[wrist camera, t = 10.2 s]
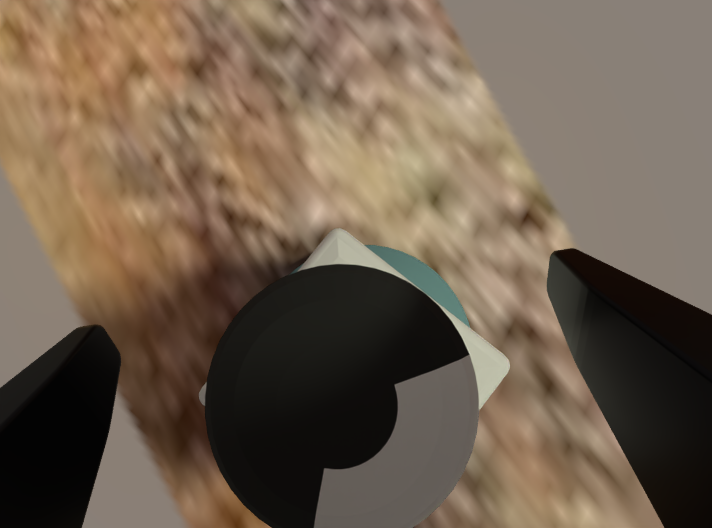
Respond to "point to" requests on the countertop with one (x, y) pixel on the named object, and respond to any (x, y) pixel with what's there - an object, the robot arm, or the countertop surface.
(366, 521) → the medicine bottle
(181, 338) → the countertop surface
